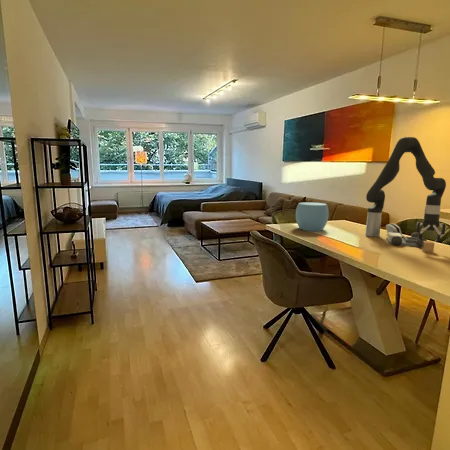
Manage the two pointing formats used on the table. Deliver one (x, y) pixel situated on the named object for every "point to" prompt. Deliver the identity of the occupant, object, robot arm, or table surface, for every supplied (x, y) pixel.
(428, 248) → the block
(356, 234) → the table surface
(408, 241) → the chassis
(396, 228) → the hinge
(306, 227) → the planter
